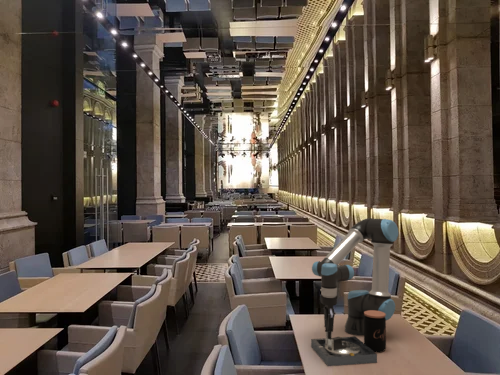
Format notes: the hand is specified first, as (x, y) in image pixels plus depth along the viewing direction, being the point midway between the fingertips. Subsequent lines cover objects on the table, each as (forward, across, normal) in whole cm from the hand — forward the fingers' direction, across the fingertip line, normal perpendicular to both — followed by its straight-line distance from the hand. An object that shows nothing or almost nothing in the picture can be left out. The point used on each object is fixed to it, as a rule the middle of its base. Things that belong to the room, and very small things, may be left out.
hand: (328, 344), depth 199 cm
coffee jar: (+6, -7, +25) cm, 27 cm away
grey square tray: (+5, -1, +7) cm, 9 cm away
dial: (+3, -1, +7) cm, 8 cm away
